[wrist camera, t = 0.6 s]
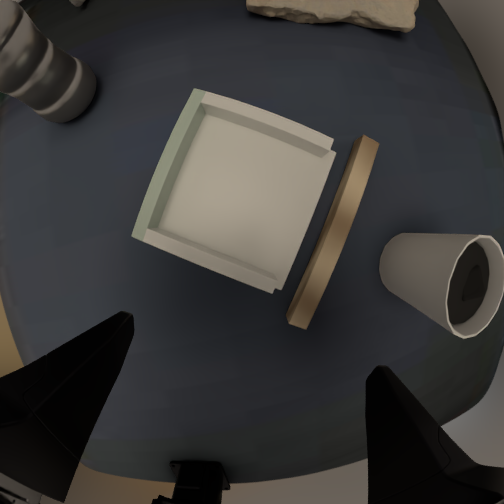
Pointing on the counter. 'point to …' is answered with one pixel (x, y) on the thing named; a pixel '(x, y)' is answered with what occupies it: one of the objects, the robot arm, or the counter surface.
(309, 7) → the beige flat stone slab
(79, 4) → the mug
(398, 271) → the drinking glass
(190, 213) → the tray
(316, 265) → the oak rail
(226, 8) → the counter surface
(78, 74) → the plastic bottle
